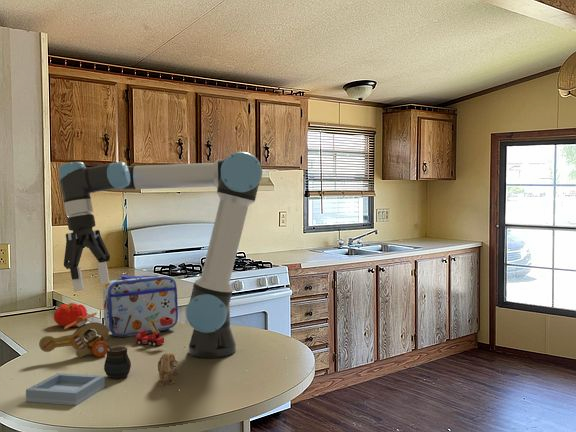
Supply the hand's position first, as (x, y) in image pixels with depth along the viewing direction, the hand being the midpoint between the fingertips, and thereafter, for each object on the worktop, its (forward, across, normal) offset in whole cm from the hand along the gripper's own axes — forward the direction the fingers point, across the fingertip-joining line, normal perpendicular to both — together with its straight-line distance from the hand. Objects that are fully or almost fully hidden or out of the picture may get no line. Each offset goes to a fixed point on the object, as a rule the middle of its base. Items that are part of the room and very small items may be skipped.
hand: (93, 287), depth 162 cm
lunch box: (+22, -43, -12) cm, 50 cm away
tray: (+25, +19, -1) cm, 32 cm away
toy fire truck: (+25, -29, 0) cm, 38 cm away
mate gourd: (+26, +4, +5) cm, 27 cm away
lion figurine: (+29, +5, +21) cm, 36 cm away
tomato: (+17, -49, -44) cm, 68 cm away
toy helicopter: (+22, -11, -16) cm, 29 cm away
